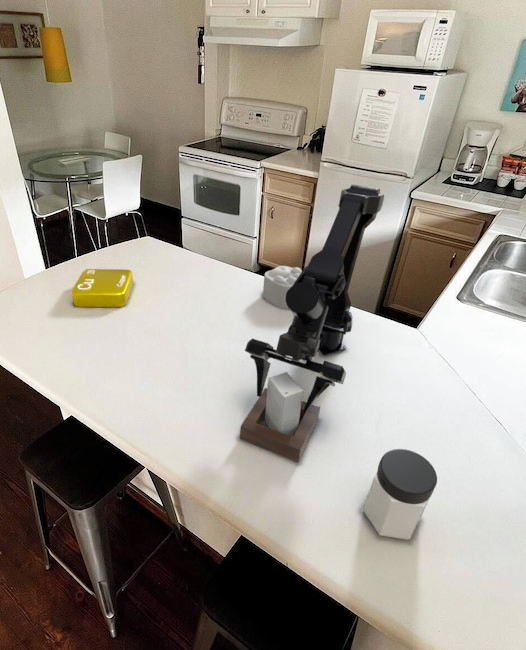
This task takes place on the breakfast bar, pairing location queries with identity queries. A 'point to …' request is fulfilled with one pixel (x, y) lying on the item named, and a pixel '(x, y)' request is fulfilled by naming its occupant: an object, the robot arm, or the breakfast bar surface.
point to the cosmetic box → (283, 404)
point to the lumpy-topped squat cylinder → (279, 284)
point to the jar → (400, 493)
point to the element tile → (103, 288)
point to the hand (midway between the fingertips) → (280, 404)
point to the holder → (274, 439)
